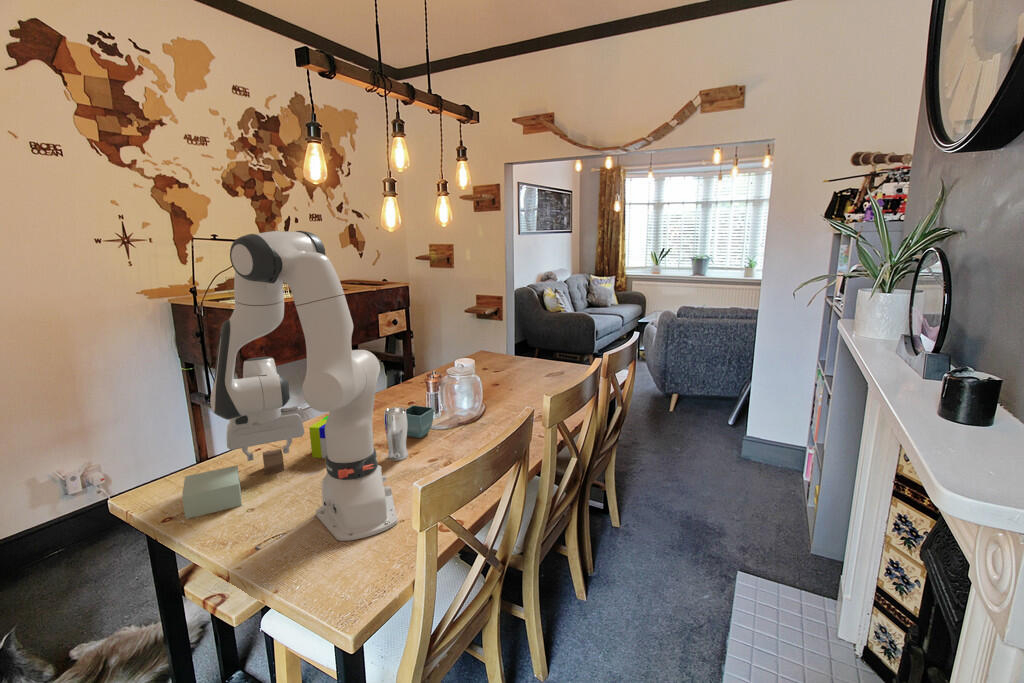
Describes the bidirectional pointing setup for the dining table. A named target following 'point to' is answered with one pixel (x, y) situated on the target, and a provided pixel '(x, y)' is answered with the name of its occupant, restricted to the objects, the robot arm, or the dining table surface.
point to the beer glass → (396, 432)
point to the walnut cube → (273, 461)
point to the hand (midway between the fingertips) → (268, 456)
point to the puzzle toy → (318, 439)
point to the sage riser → (211, 491)
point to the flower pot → (419, 420)
